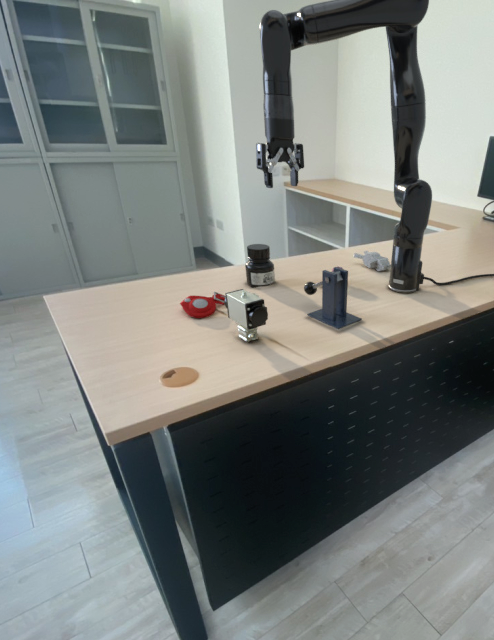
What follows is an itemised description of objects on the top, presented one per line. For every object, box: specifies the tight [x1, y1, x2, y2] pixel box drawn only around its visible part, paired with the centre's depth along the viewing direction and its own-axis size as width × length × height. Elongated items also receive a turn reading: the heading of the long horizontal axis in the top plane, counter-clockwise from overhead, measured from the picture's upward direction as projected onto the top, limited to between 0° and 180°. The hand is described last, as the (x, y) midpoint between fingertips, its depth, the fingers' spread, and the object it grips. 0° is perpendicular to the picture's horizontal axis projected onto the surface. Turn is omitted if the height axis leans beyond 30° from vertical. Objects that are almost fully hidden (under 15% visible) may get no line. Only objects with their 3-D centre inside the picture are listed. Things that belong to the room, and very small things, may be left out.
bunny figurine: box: [352, 250, 391, 272], centre depth 152 cm, size 10×5×15 cm
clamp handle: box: [303, 271, 343, 296], centre depth 108 cm, size 14×4×4 cm, turn 47°
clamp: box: [306, 266, 363, 330], centre depth 107 cm, size 12×9×14 cm
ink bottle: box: [245, 243, 276, 289], centre depth 128 cm, size 10×9×12 cm
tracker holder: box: [179, 291, 226, 319], centre depth 111 cm, size 12×4×10 cm
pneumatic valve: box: [224, 288, 269, 343], centre depth 96 cm, size 6×12×12 cm, turn 46°
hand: (282, 186), depth 111 cm, fingers open, 8 cm apart
